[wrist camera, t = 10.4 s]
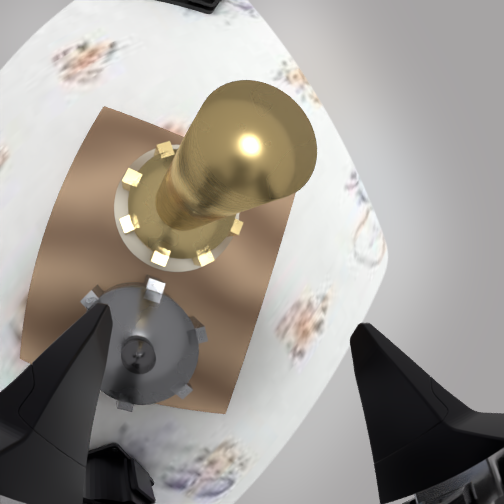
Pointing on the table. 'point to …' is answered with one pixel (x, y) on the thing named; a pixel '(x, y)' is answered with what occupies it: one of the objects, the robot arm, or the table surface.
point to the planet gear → (219, 171)
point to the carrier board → (137, 260)
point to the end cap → (196, 4)
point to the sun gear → (147, 343)
